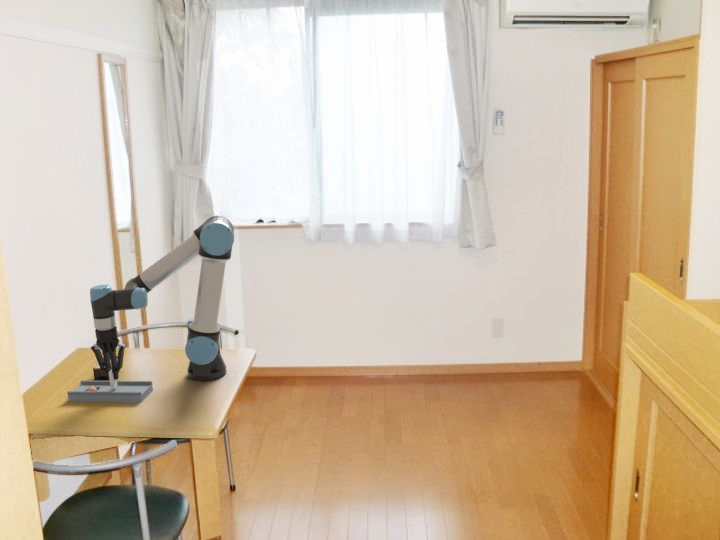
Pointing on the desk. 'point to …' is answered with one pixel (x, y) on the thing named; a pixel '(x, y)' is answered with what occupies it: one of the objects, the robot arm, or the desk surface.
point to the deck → (111, 391)
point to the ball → (92, 389)
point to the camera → (101, 373)
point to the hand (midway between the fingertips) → (114, 387)
